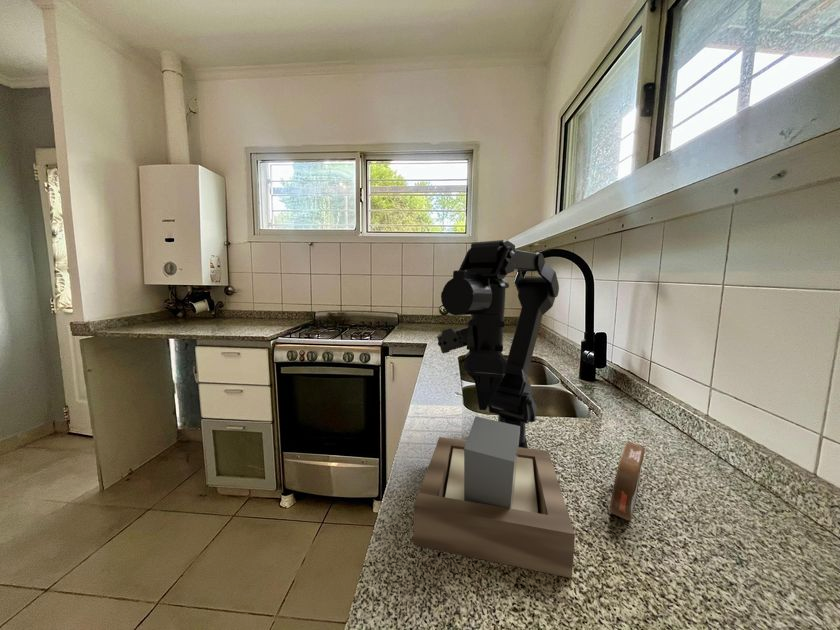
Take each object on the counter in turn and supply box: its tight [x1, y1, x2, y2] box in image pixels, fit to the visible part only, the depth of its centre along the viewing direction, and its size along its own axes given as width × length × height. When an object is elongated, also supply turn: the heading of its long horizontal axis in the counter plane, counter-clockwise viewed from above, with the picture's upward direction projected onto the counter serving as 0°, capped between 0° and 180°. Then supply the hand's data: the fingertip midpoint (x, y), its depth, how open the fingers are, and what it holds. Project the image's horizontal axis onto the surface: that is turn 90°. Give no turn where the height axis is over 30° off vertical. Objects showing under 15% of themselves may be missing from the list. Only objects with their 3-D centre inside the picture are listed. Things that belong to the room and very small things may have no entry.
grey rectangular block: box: [464, 415, 520, 509], centre depth 43 cm, size 6×6×12 cm
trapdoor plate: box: [445, 448, 538, 513], centre depth 48 cm, size 13×13×1 cm
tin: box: [609, 440, 646, 521], centre depth 50 cm, size 15×3×8 cm, turn 141°
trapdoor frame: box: [412, 436, 576, 579], centre depth 48 cm, size 19×19×6 cm
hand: (482, 400), depth 57 cm, fingers open, 9 cm apart
